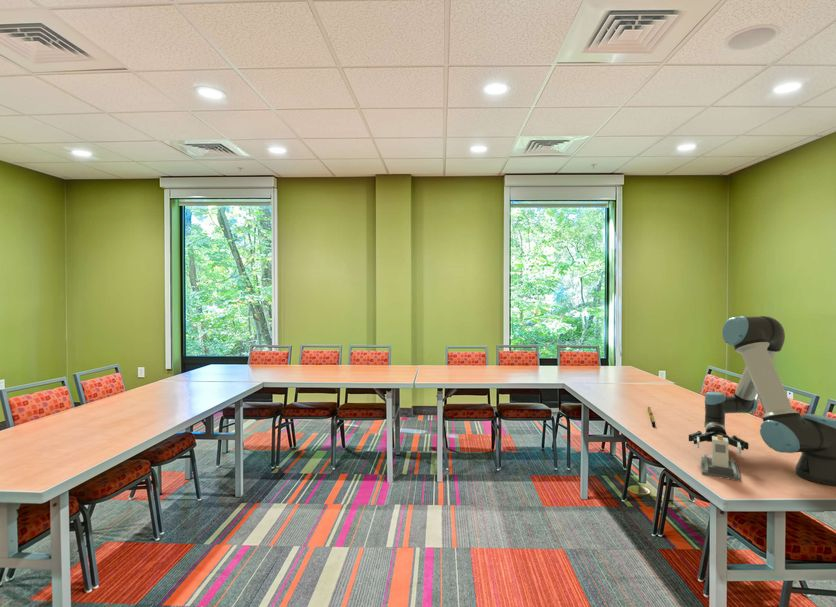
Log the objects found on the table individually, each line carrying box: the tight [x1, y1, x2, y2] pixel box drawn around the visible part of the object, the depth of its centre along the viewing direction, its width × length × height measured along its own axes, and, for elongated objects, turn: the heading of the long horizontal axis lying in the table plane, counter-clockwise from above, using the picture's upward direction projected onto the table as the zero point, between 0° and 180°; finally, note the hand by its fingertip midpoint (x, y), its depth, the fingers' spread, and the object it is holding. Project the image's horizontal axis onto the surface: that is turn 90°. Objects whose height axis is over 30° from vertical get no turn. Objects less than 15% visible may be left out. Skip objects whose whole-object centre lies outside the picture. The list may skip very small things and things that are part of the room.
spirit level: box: [647, 406, 656, 428], centre depth 244 cm, size 33×1×3 cm, turn 156°
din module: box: [711, 435, 729, 468], centre depth 169 cm, size 5×5×13 cm
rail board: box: [700, 454, 741, 481], centre depth 173 cm, size 12×19×3 cm, turn 148°
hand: (718, 447), depth 172 cm, fingers open, 13 cm apart
